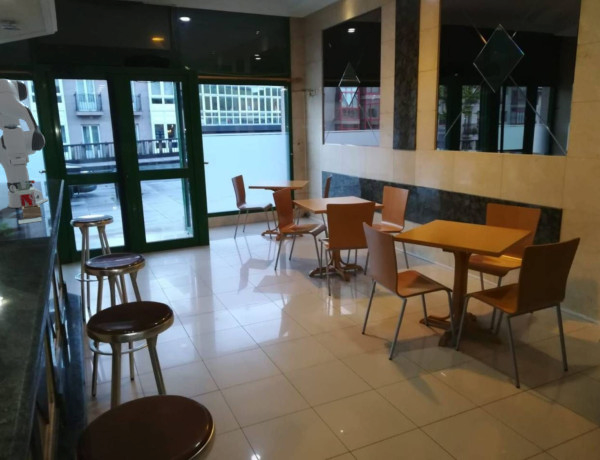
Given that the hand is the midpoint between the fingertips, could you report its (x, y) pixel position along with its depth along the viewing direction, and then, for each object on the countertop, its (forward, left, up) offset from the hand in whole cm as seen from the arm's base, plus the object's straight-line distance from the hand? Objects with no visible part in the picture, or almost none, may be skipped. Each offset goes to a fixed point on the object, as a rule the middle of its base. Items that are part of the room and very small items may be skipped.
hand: (23, 187), depth 230 cm
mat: (0, 0, -17) cm, 17 cm away
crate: (-11, -6, -17) cm, 21 cm away
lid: (0, 0, -2) cm, 2 cm away
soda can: (-23, -16, -17) cm, 32 cm away
